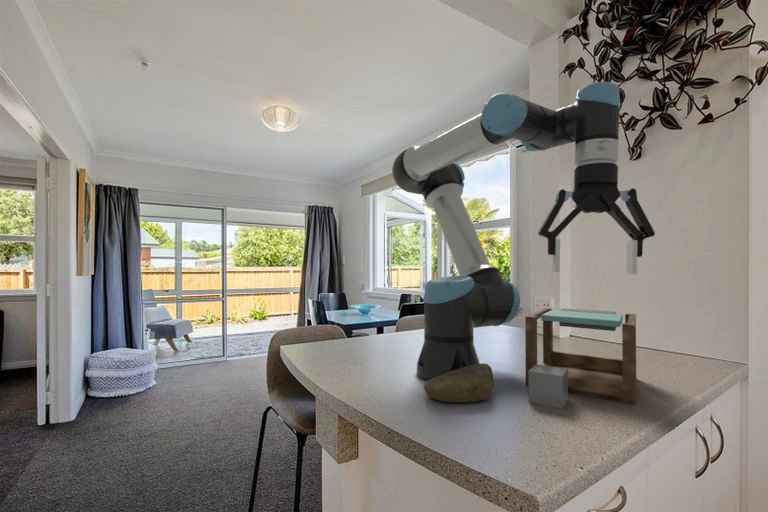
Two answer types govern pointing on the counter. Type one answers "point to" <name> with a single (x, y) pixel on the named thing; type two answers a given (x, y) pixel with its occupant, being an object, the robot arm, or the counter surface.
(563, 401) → the gray cube
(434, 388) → the stone
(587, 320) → the trapdoor
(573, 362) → the frame
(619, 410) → the counter surface
